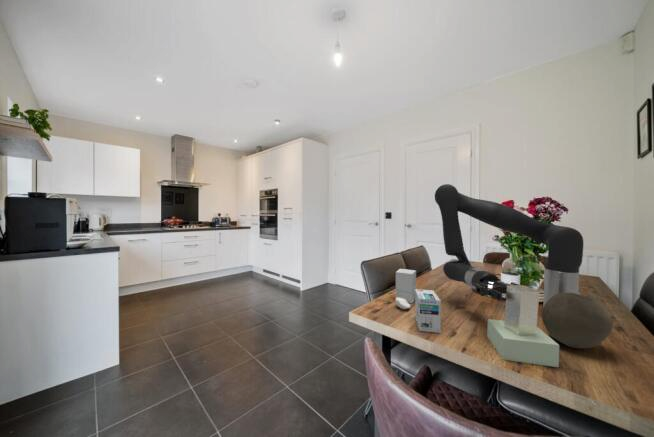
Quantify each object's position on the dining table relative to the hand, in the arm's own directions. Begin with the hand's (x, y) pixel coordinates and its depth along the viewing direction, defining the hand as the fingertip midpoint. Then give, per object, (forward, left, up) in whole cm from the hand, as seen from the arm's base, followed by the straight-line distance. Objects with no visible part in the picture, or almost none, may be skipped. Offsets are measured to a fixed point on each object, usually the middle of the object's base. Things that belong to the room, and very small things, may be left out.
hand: (516, 297), depth 71 cm
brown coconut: (-18, -1, -15) cm, 23 cm away
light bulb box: (+20, -13, -15) cm, 28 cm away
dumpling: (+24, -27, -15) cm, 39 cm away
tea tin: (0, +2, -9) cm, 9 cm away
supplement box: (+20, -37, -15) cm, 45 cm away
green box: (0, +2, -15) cm, 15 cm away
